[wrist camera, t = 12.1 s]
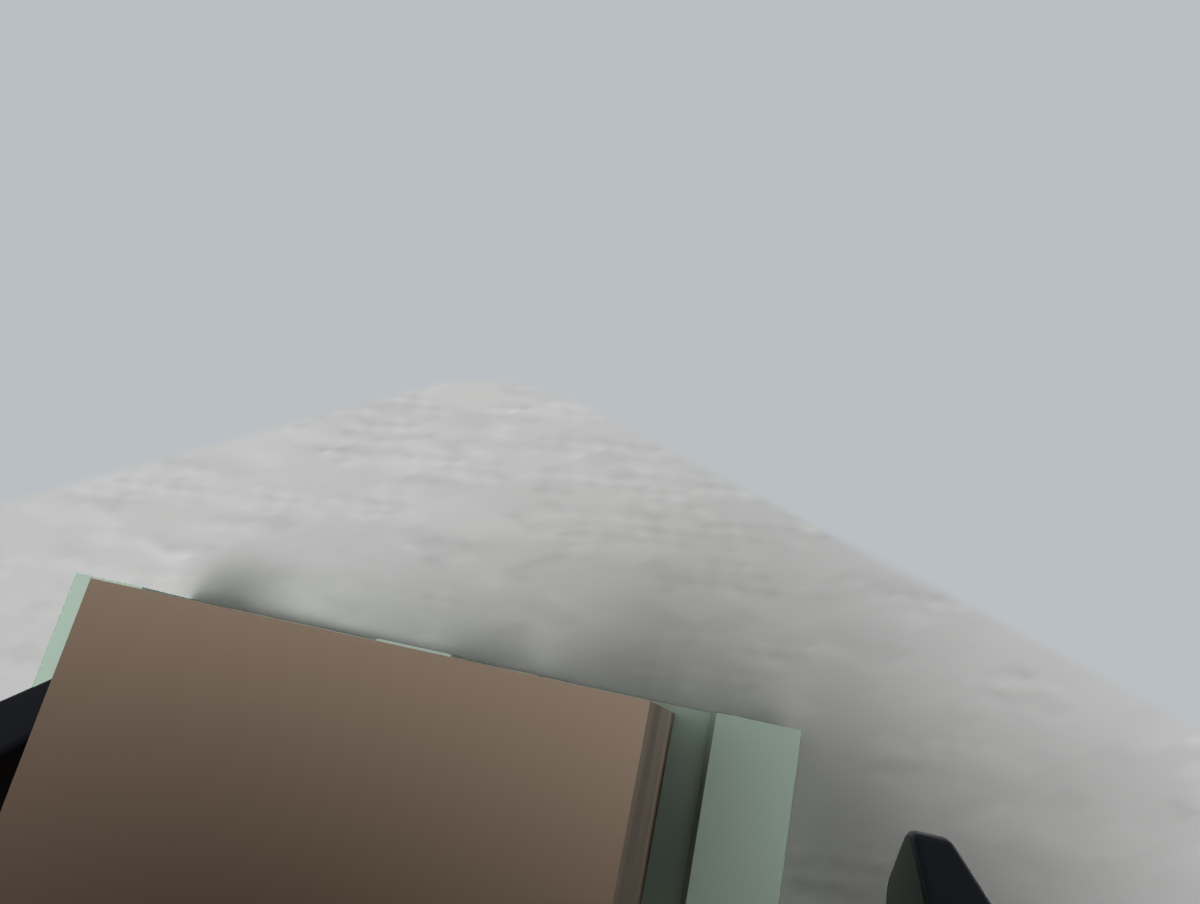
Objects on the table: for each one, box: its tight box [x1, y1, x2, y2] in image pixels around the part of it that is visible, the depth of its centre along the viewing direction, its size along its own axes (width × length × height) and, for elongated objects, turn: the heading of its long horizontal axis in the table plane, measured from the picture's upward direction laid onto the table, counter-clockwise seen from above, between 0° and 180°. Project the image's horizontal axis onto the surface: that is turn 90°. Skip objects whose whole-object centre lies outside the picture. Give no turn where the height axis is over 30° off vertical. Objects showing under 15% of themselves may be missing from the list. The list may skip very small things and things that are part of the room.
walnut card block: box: [0, 578, 675, 904], centre depth 11 cm, size 4×3×14 cm
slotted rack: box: [32, 573, 802, 904], centre depth 16 cm, size 8×14×4 cm, turn 78°
